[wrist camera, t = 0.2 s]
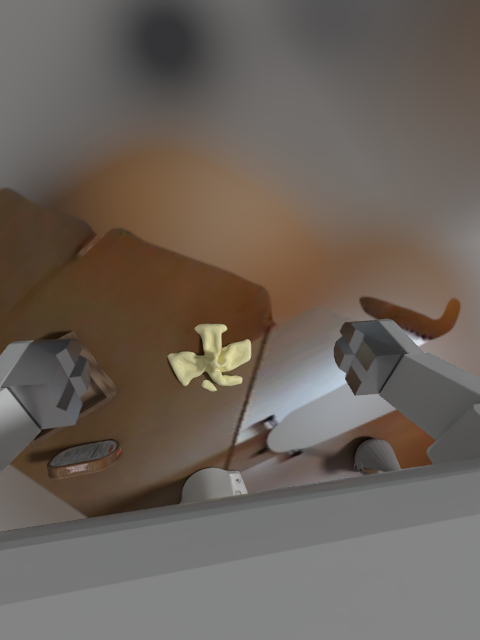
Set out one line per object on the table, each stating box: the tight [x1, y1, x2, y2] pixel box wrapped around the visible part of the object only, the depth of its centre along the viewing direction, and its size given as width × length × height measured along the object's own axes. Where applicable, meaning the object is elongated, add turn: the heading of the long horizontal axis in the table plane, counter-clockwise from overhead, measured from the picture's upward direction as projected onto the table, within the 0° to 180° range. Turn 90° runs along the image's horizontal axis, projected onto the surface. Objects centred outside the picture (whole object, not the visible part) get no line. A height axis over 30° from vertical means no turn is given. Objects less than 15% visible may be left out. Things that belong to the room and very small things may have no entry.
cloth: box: [168, 324, 251, 391], centre depth 63 cm, size 22×19×6 cm
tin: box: [47, 440, 122, 479], centre depth 60 cm, size 15×3×8 cm, turn 96°
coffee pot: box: [354, 439, 401, 475], centre depth 69 cm, size 21×12×15 cm, turn 58°
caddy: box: [30, 331, 119, 446], centre depth 58 cm, size 17×20×4 cm
